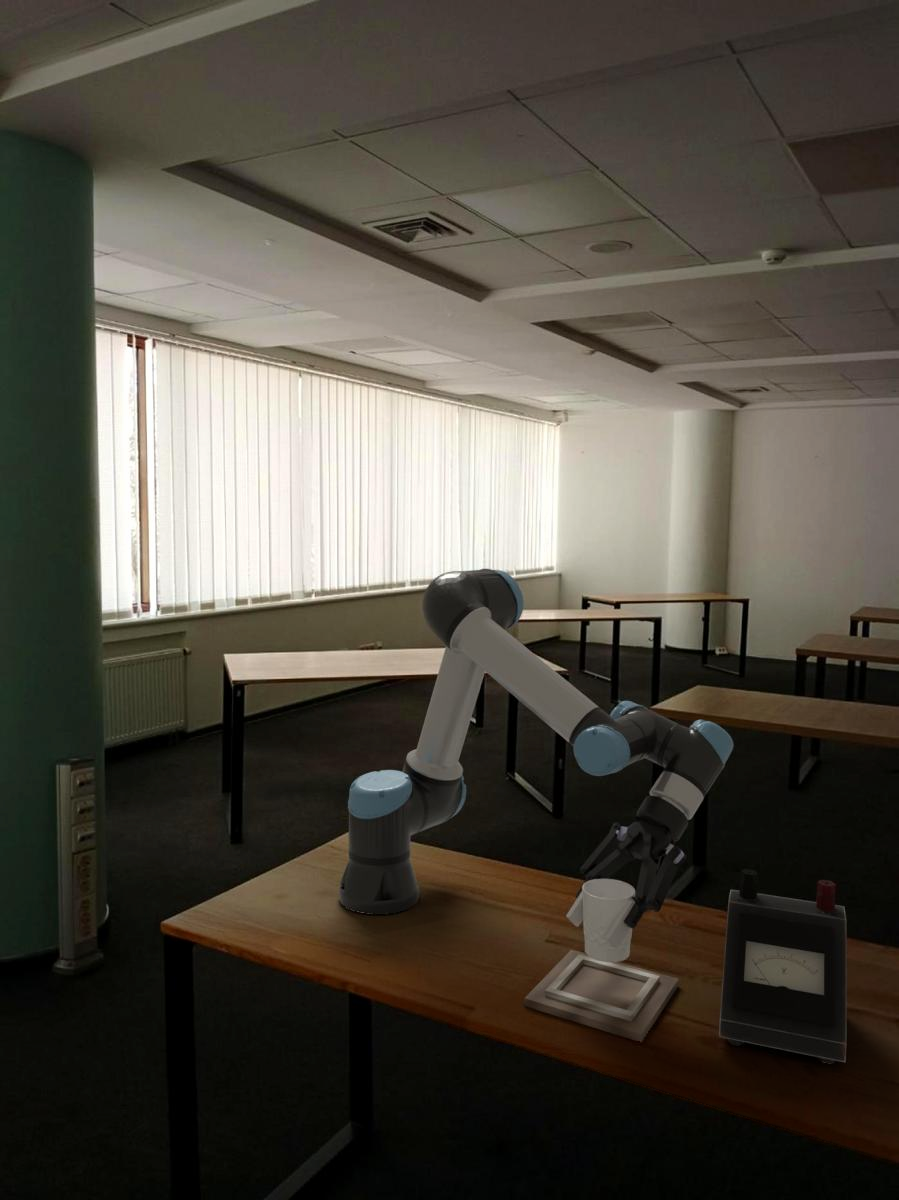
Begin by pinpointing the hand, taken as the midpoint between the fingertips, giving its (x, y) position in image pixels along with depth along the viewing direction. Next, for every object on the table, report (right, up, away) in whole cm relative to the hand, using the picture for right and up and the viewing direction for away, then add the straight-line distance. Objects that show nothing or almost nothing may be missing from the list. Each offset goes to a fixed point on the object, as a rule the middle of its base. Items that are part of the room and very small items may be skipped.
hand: (591, 931), depth 136 cm
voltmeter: (+26, -12, -5) cm, 30 cm away
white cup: (+3, -4, +2) cm, 5 cm away
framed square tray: (+2, -11, +3) cm, 12 cm away
